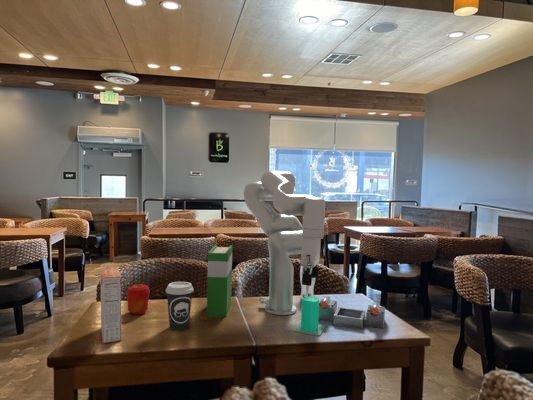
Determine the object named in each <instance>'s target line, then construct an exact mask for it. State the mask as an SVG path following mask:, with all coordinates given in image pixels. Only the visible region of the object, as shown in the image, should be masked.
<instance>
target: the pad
mask: <svg viewBox="0 0 533 400" xmlns="http://www.w3.org/2000/svg"><path fill="white" fill-rule="evenodd" d="M325 328H326V325H324V324H323V325H322V324H318V330H316V331H305V330H303V329H302V328H301V321H300V323H299V324H298V325H297V327H296V328H295V329H294V330H293V332H294V333H298V334H305V335H311V336H316V337H321V334H323V331H324V329H325Z"/></svg>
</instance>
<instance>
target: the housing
mask: <svg viewBox="0 0 533 400" xmlns="http://www.w3.org/2000/svg"><path fill="white" fill-rule="evenodd" d="M323 299H324V298H321V299H320V300H319V303H320V302H321V301H322V300H323ZM371 308H372V304H368V306H367V309H366V310H364V309H363V310H362V309H355V308H349V307H343V306H341V307H340V306H338V300H335V299H334V300H332V299H331V300H330V302H329V304H328V306H327V308H326V309H321V308H320V307H319V318H318V320H321V321H322V320H323V321H328V322H333V326H339V327H345V328H350V329H357V330H363V327H368V328H375V329H376V328H377V329H382V330H383V329H384V325H385V315H386V311H385V310H386V307H385V306H380V307H379V314H378V316H372V315H371V314H370V309H371Z"/></svg>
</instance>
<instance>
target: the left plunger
mask: <svg viewBox="0 0 533 400" xmlns="http://www.w3.org/2000/svg"><path fill="white" fill-rule="evenodd" d="M322 299H323V300H322V301H321V300H320V301H321V302H320V301H319V302H320V303H319V307H320V308H321V309H326V308H327V306H328V304H329V302H330V300H332V299H331V297H330V296H328V295H326V296H324V297H323V298H322Z"/></svg>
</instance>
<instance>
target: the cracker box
mask: <svg viewBox="0 0 533 400" xmlns="http://www.w3.org/2000/svg"><path fill="white" fill-rule="evenodd" d="M100 323H101V325H100V326H101V339H102V341H101V342H102V344H109V343H114V342H115V343H116V342H121V341H122V275H121V272H120V268H119V266H111V267H108V266H107V267H101V268H100Z"/></svg>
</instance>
